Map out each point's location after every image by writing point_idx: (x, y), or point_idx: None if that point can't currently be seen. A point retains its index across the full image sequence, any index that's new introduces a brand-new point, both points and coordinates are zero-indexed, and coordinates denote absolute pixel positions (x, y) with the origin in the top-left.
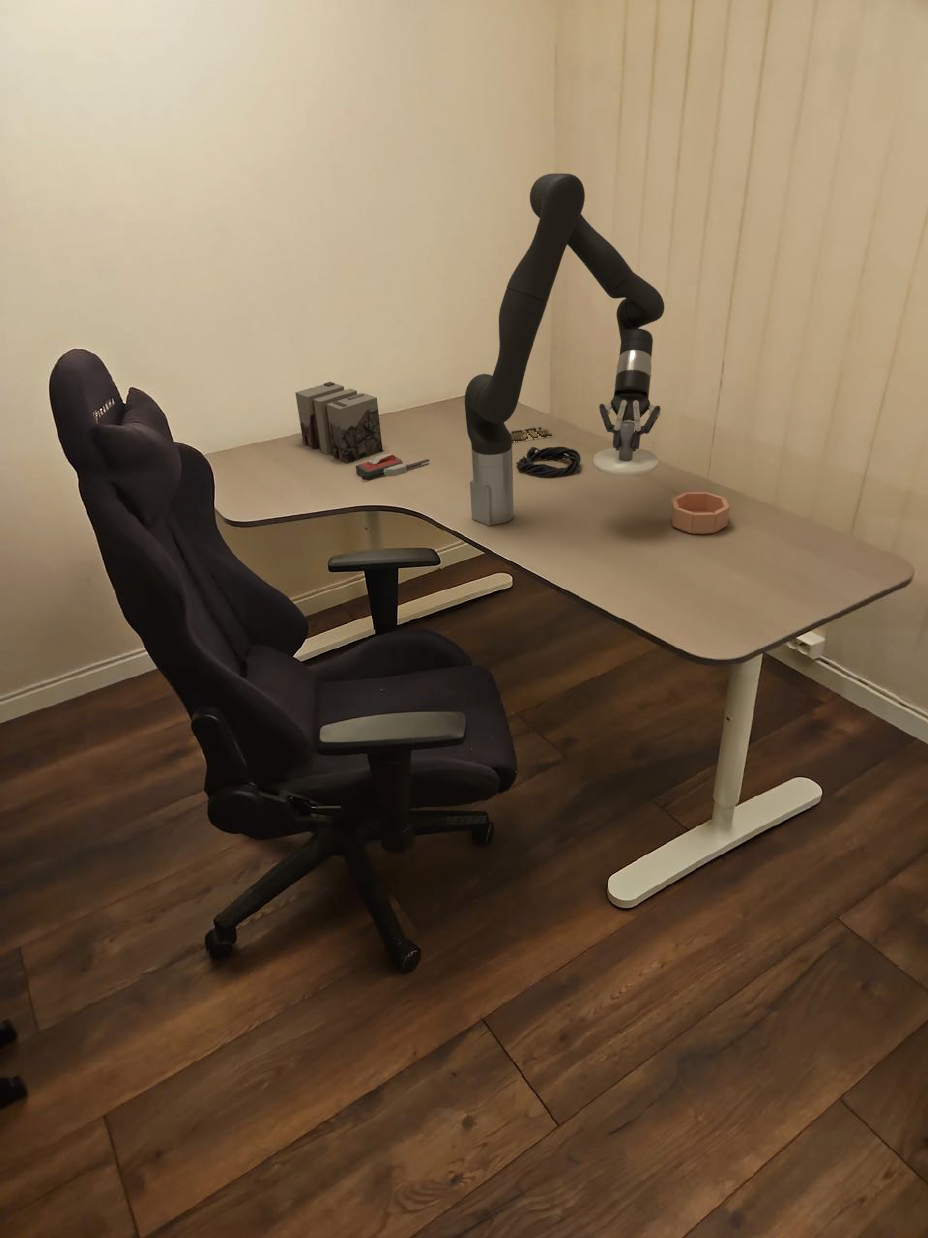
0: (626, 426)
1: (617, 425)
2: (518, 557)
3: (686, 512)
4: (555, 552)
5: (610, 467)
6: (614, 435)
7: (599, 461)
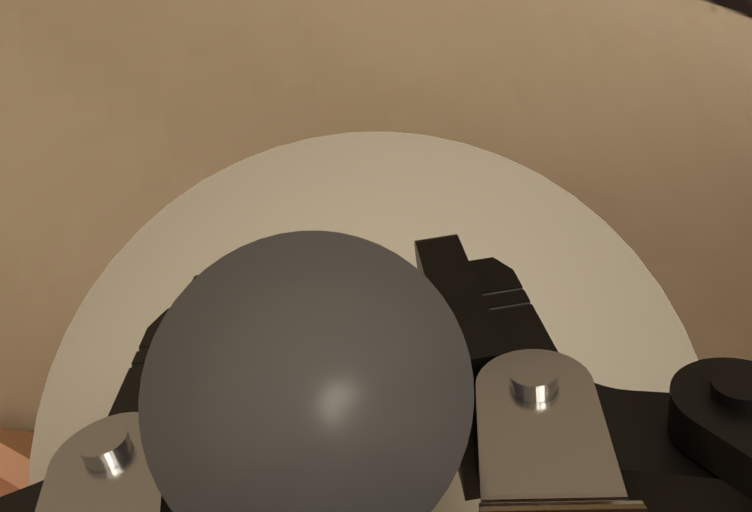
0: (297, 235)
1: (543, 424)
2: (721, 22)
3: (5, 444)
4: (595, 100)
5: (451, 178)
6: (530, 335)
7: (601, 286)
